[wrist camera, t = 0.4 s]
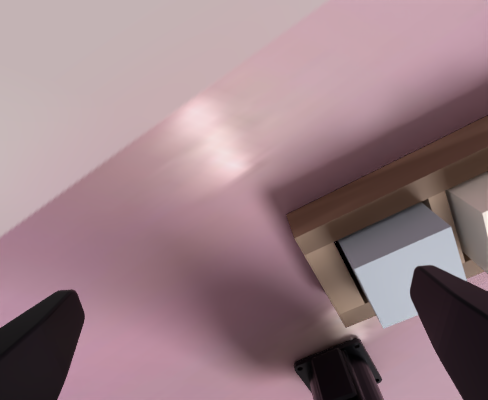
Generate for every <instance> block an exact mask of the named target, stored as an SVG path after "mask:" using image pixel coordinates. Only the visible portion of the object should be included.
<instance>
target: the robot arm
mask: <svg viewBox="0 0 488 400" xmlns="http://www.w3.org/2000/svg"><path fill="white" fill-rule="evenodd" d="M410 297H411V300H412V302H413V304H414V306H415V309H416V311H417V313H418V315H419V317H420V319H421V322H422V324H423V326H424V328H425V330H426V332H427V335H428V337H429V339H430V341H431V343H432V345H433V347H434V349H435V351H436V353H437V355H438V357H439V359H440V361H441V362H442V364H443V366H444V367H445V369H446V371H447V373H448V374H449V376H450V378H451V379H452V381H453V383H454V384H455V386H456V388H457V390H458V391H459V393H460V395H461V396H462V398H463V400H488V291H486V290H484V289H481V288H479V287H477V286H475V285H473V284H471V283H469V282H467V281H465V280H463V279H461V278H459V277H457V276H454V275H452V274H450V273H448V272H446V271H444V270H442V269H440V268H438V267H436V266H433V265H423V266H417V267H416V268H415V269H414V273H413V277H412V282H411V287H410ZM84 319H85V315H84V311H83V308H82V305H81V302H80V300H79V297H78V294H77V292H76V291H75V290H60V291H57V292H55V293H53V294H52V295H50V296H49V297H47V298H46V299H44V300H43V301H41V302H40V303H38V304H36V305H35V306H33V307H32V308H30V309H29V310H27V311H26V312H24V313H23V314H21V315H20V316H18V317H16V318H15V319H13V320H12V321H10V322H9V323H7V324H6V325H4V326H3V327H1V328H0V400H57V399H58V396H59V394H60V392H61V389H62V387H63V385H64V382H65V380H66V377H67V374H68V371H69V368H70V365H71V362H72V358H73V355H74V352H75V349H76V346H77V343H78V339H79V336H80V333H81V330H82V327H83V324H84ZM294 369H295V371H296V373H297V374H298V375H299V377H300V378H301V379H302V381H303V382H304V383H305V385H306V386H307V387H308V388H309V390H310V391H311V392H312V395H313V399H314V400H384V399H383V396H382V394H381V392H380V389H379V387H378V385H377V384H378V383H380V382H381V381H382V378H381V376H380V374H379V372H378V371H377V369H376V367H375V365H374V363H373V362H372V360H371V358H370V356H369V355H368V353H367V351H366V349H365V347H364V346H363V344H362V342H361V340H360V339H353V340H351V341H348V342H346V343H343V344H341V345H338V346H335V347H333V348H330V349H328V350H325V351H323V352H320V353H318V354H315V355H313V356H310V357H308V358H305V359H303V360H300V361H298V362H296V363H295V364H294Z"/></svg>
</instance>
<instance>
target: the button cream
mask: <svg viewBox="0 0 488 400" xmlns="http://www.w3.org/2000/svg"><path fill="white" fill-rule="evenodd" d="M445 193H446V196H447V200H448V203H449V207H450V210H451V214H452V217H453V221H454V224H455V228H456V232H457V235H458V239H459V242H460V246H461V249H462V252H464V253H465V254H466V255H467V256H468V257H469V258H470V259H471V260H473V261H474V262H475V263H476V264H477V265H478V266H479V267H481V268H482V269H483V270H484V271H485V272H486V273H487V274H488V171H487V172H484V173H482V174H480V175H478V176H476V177H474V178H471V179H469V180H467V181H465V182H463V183H461V184H458V185H456V186H454V187H452V188H450V189H448V190H445Z"/></svg>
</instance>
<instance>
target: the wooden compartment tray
mask: <svg viewBox="0 0 488 400" xmlns="http://www.w3.org/2000/svg"><path fill="white" fill-rule="evenodd" d="M487 171H488V116H486V117H484V118H482V119H479V120H477V121H475V122H473V123H471V124H469V125H467V126H465V127H463V128H461V129H459V130H457V131H455V132H453V133H451V134H449V135H447V136H445V137H443V138H441V139H439V140H437V141H435V142H433V143H431V144H429V145H427V146H425V147H423V148H421V149H419V150H417V151H415V152H413V153H410V154H408V155H406V156H404V157H402V158H400V159H398V160H396V161H394V162H392V163H390V164H388V165H386V166H384V167H382V168H380V169H378V170H376V171H374V172H372V173H370V174H368V175H366V176H364V177H362V178H360V179H358V180H356V181H354V182H352V183H350V184H348V185H346V186H343V187H341V188H339V189H337V190H335V191H333V192H331V193H329V194H327V195H325V196H323V197H321V198H319V199H317V200H315V201H313V202H311V203H309V204H307V205H305V206H303V207H301V208H299V209H297V210H295V211H293V212H291V213H289V214H287V218H288V221H289V224H290V227H291V230H292V233H293V236H294V239H295V241H296V242H297V244H298V246H299V247H300V249H301V251H302V253H303V254H304V256H305V258H306V260H307V261H308V263H309V265H310V266H311V268H312V270H313V272H314V273H315V275H316V277H317V279H318V280H319V282H320V284H321V286H322V287H323V289H324V291H325V292H326V294H327V296H328V298H329V299H330V301H331V303H332V305H333V306H334V308H335V310H336V312H337V313H338V315H339V317H340V318H341V320H342V322H343V324H344V325H345V327H349V326H351V325H354V324H356V323H359V322H361V321H364V320H366V319H369V318H371V317H374V316H376V314H375V312H374V310H373V308H372V306H371V305H370V303H369V301H368V299H367V297H366V295H365V294H364V292H363V290H362V288H361V286H360V284H359V282H358V280H357V278H356V276H355V274H353V275H350V274H349V272H348V270H347V268H346V266H345V264H344V262H343V260H342V258H341V256H340V254H339V252H338V250H337V248H336V246H335V244H334V242H335V241H337V240H339V239H341V238H343V237H346V236H348V235H350V234H352V233H354V232H357V231H359V230H361V229H363V228H365V227H367V226H370V225H372V224H374V223H376V222H378V221H380V220H383V219H385V218H387V217H389V216H391V215H393V214H396V213H398V212H400V211H402V210H404V209H406V208H409V207H411V206H413V205H415V204H417V203H419V202H422V203H423V204H424V205H425V206H427V207H428V208H429V209H430V210H431V211H433V212H434V213H435V214H436V215H438V216H439V217H440V218H441V219H442V220H444V221H445V222H446V223H447V224H449V225H450V226H451V228H452V231H453V234H454V238H455V241H456V245H457V248H458V252H459V255H460V259H461V262H462V266H463V269H464V272H465V276H466V279H467V278H470V277H472V276H475V275H477V274H480V273H482V272H485V271H484V270H483V269H482V268H481V267H479V266H478V265H477V264H476V263H475V262H474V261H473V260H471V259H470V258H469V257H468V256H467V255H466V254H465V253H464V252H462V249H461V246H460V242H459V239H458V235H457V232H456V228H455V224H454V221H453V217H452V214H451V210H450V207H449V203H448V200H447V196H446V193H445V190H448V189H450V188H452V187H454V186H456V185H458V184H461V183H463V182H465V181H467V180H469V179H471V178H474V177H476V176H478V175H480V174H482V173H484V172H487Z"/></svg>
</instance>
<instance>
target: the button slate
mask: <svg viewBox="0 0 488 400" xmlns="http://www.w3.org/2000/svg"><path fill="white" fill-rule="evenodd" d="M338 242H339V244H340V246H341V248H342V250H343V252H344V254H345V256H346V258H347V260H348V262H349V264H350V266H351V268H352V270H353V272H354V274H355V276H356V278H357V280H358V282H359V284H360V286H361V288H362V290H363V292H364V294H365V295H366V297H367V299H368V301H369V303H370V305H371V306H372V308H373V310H374V312H375V314H376V316H377V317H378V319H379V321H380V323H381V325H382V327H383V328H386V327H389V326H392V325H394V324H397V323H399V322H402V321H404V320H407V319H409V318H412V317H414V316H417V315H418V313H417V311H416V309H415V306H414V304H413V302H412V300H411V297H410V287H411V282H412V277H413V273H414V269H415V268H416V267H417V266H423V265H433V266H436V267H438V268H440V269H442V270H444V271H446V272H448V273H450V274H452V275H454V276H457V277H459V278H461V279H463V280H465V281H467V279H466V276H465V272H464V269H463V266H462V262H461V259H460V255H459V252H458V248H457V245H456V241H455V238H454V234H453V231H452V228H451V226H450V225H449V224H447V223H446V222H445V221H444V220H442V219H441V218H440V217H439V216H438V215H436V214H435V213H434V212H433V211H431V210H430V209H429V208H428V207H427V206H425V205H424V204H423V203H422V202H419V203H417V204H415V205H413V206H411V207H409V208H406V209H404V210H402V211H400V212H398V213H396V214H393V215H391V216H389V217H387V218H385V219H383V220H380V221H378V222H376V223H374V224H372V225H370V226H367V227H365V228H363V229H361V230H359V231H357V232H354V233H352V234H350V235H348V236H346V237H343V238H341V239H339V240H338Z"/></svg>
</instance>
